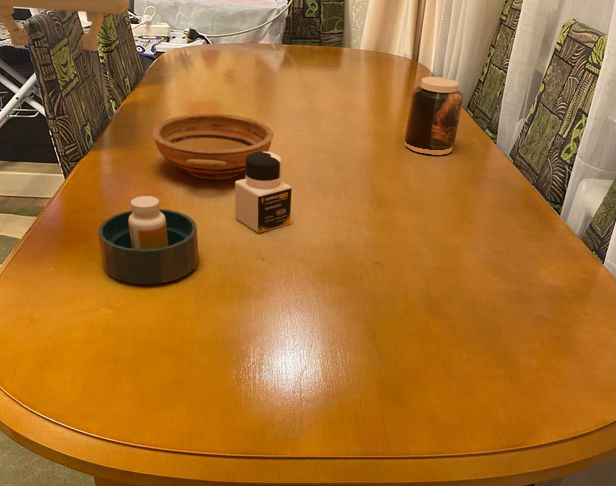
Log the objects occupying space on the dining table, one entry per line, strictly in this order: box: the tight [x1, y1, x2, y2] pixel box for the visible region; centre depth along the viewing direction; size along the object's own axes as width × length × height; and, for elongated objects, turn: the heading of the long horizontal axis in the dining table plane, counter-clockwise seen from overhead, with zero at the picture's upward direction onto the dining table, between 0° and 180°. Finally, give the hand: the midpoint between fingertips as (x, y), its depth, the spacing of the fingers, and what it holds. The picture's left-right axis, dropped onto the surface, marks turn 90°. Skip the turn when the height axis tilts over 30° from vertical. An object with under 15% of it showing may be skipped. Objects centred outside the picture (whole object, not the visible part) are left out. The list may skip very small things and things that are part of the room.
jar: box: [404, 76, 464, 150], centre depth 141 cm, size 12×12×15 cm
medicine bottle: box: [234, 151, 292, 234], centre depth 104 cm, size 7×7×12 cm
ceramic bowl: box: [151, 113, 274, 180], centre depth 124 cm, size 30×24×8 cm
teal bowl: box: [97, 208, 200, 285], centre depth 92 cm, size 14×14×6 cm
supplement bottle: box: [128, 195, 168, 249], centre depth 90 cm, size 5×5×10 cm
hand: (55, 47), depth 80 cm, fingers open, 8 cm apart
